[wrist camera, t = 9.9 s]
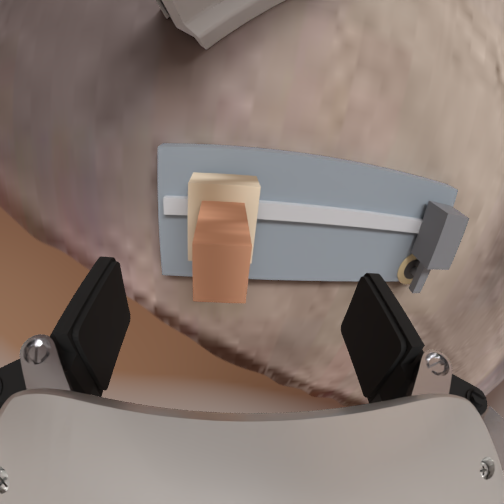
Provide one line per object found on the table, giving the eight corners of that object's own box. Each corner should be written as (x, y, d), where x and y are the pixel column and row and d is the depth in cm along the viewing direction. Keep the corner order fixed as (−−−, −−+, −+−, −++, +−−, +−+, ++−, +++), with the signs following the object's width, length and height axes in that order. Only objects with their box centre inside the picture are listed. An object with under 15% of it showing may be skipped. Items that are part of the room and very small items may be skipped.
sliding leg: (255, 174, 18) (275, 224, 11) (243, 281, 22) (252, 361, 15) (194, 170, 17) (172, 219, 10) (192, 278, 21) (182, 359, 15)
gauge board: (448, 184, 21) (480, 203, 17) (416, 275, 26) (438, 302, 22) (162, 143, 18) (144, 156, 14) (165, 267, 23) (154, 304, 19)
